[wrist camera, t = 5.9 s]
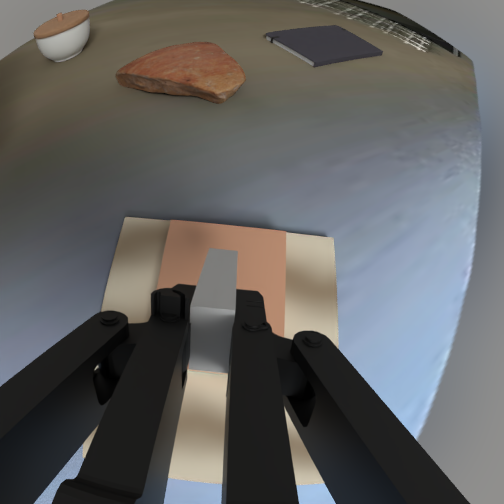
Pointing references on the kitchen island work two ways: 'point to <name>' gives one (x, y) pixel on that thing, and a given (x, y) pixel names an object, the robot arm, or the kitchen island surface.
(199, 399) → the board
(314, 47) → the notebook
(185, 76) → the ceramic shard
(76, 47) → the lidded jar
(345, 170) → the kitchen island surface
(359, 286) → the kitchen island surface
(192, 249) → the tile
